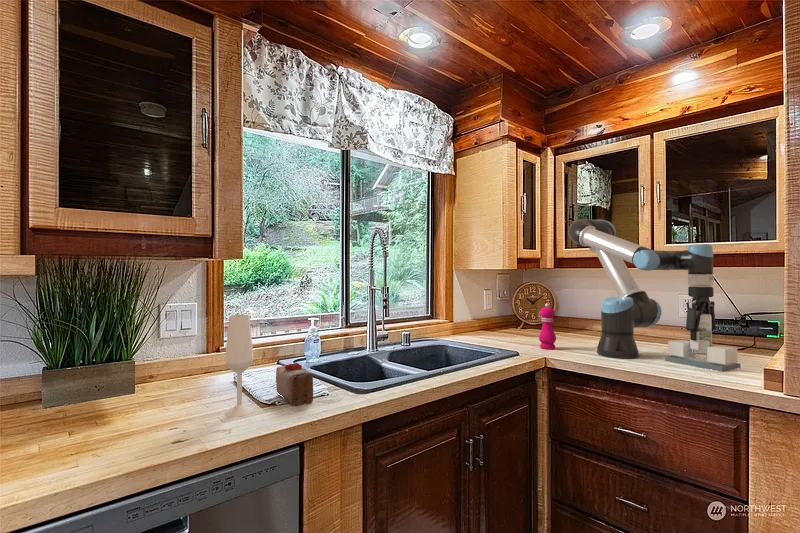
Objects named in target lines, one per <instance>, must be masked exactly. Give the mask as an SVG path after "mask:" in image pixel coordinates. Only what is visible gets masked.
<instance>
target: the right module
mask: <svg viewBox="0 0 800 533" xmlns="http://www.w3.org/2000/svg"><path fill="white" fill-rule="evenodd" d="M706 357H707V361H709V362H715V363H720V364H730V363H739V362H738V359H739V358H738V357H739V356H738V347H734V346H728V345H720V344H719V345H714V346H713V345H712V346H711V347H707V355H706Z"/></svg>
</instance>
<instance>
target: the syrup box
mask: <svg viewBox="0 0 800 533" xmlns="http://www.w3.org/2000/svg"><path fill="white" fill-rule="evenodd" d="M698 332H699V339H700V350H696V349H692V353H694V354H696V355H706V356H707V347H711V346H713V331H712V317H711V315H710V314H701V316H700V323H699V327H698Z"/></svg>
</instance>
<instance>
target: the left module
mask: <svg viewBox="0 0 800 533" xmlns="http://www.w3.org/2000/svg"><path fill="white" fill-rule="evenodd" d="M667 355H669V356H671V355H675V356H681V357H686V356H692V355H695V356H697V354H694V353H692V349H690V340H686V339H676V340H675V339H674V340H668V341H667Z"/></svg>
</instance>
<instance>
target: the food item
mask: <svg viewBox="0 0 800 533" xmlns="http://www.w3.org/2000/svg"><path fill="white" fill-rule="evenodd" d="M302 364H303V363H298V362H295V363H289V364H284V365H281V366H278V367H276V369H275V370H276V372H275V383H276V384H275V385H276V393H277V392H278V393H279V394H280V395H282V396H283V397H284V398H283V400H284V401H286V402H287V403H289V404H290V405H291V406H293V407H294V406H295V407H297V406H298V407H299V406H302V405H309V404H312V403H313V401H314V374H312V373H311V372H309V371H307V368H302Z"/></svg>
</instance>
